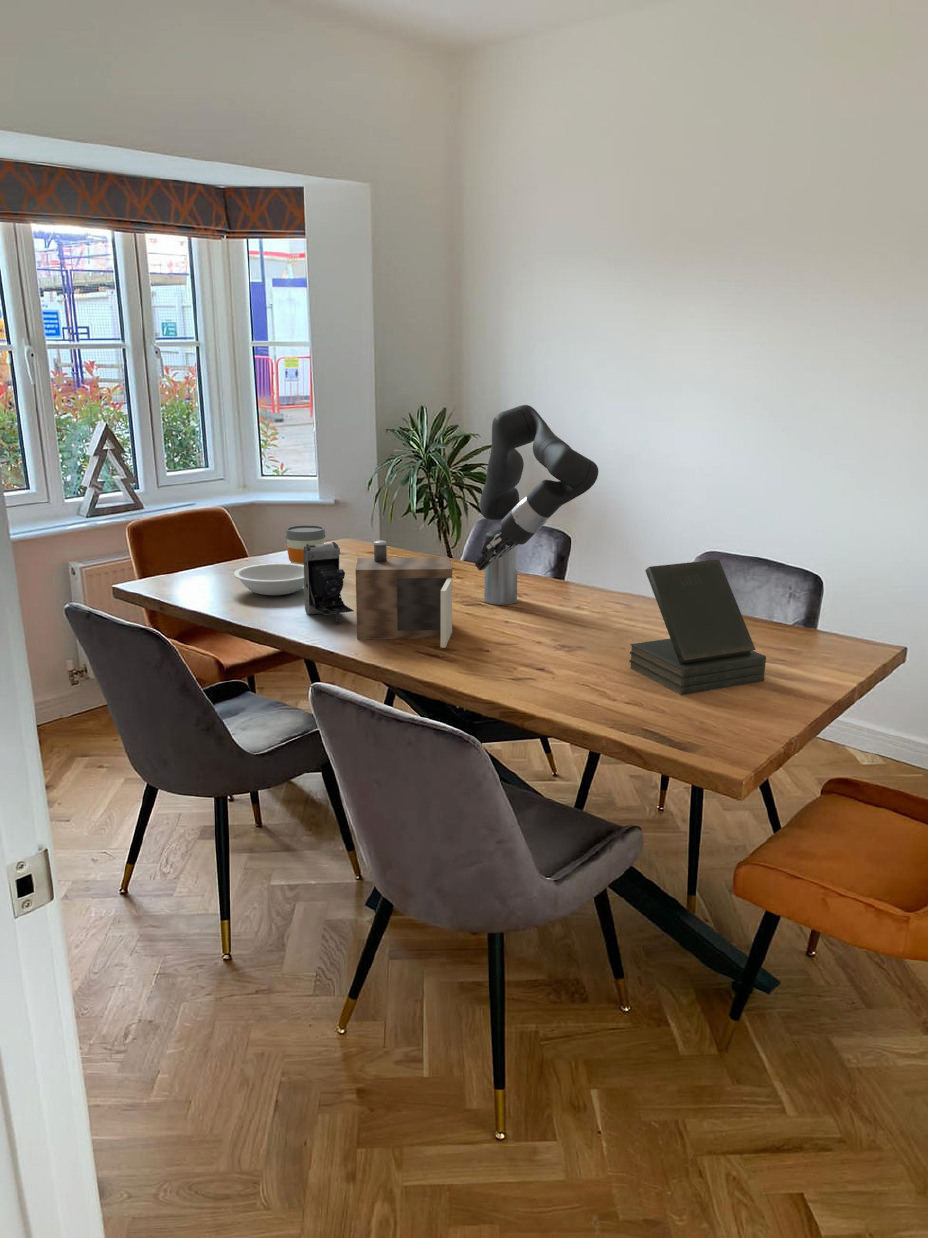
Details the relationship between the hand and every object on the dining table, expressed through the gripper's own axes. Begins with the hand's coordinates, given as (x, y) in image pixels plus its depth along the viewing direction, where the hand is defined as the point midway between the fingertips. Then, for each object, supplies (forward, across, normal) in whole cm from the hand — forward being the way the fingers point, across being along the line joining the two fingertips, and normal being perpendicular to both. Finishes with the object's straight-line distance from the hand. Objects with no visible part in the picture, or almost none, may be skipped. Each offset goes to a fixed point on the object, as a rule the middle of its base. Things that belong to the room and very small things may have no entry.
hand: (478, 567), depth 225 cm
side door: (+21, -2, +6) cm, 22 cm away
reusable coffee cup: (+77, -42, -51) cm, 102 cm away
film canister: (+26, -6, -22) cm, 34 cm away
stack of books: (-18, -17, +50) cm, 56 cm away
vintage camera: (+51, -6, -22) cm, 56 cm away
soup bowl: (+72, -18, -44) cm, 87 cm away
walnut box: (+34, -8, -4) cm, 35 cm away
